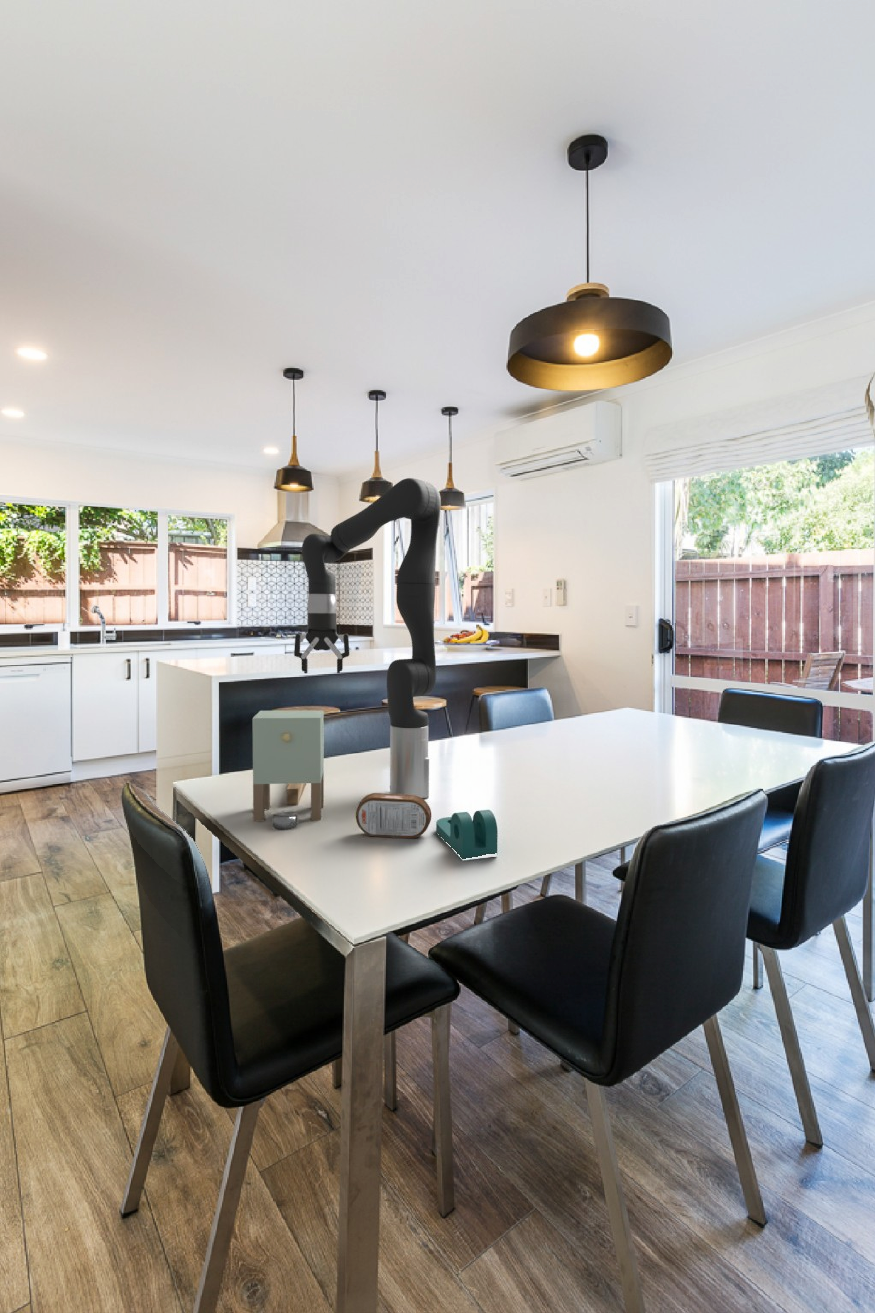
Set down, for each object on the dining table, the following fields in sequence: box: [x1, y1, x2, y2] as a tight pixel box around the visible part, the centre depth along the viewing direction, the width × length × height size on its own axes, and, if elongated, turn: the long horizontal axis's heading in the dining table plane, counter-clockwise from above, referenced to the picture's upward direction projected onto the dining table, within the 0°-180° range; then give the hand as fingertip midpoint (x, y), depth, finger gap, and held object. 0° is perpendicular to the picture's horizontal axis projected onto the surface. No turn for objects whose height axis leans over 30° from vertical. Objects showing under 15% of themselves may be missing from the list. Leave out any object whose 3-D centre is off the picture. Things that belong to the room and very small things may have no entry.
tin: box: [355, 792, 432, 839], centre depth 127 cm, size 15×3×8 cm, turn 84°
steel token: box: [272, 811, 298, 831], centre depth 132 cm, size 5×5×2 cm
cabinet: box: [252, 709, 325, 822], centre depth 139 cm, size 14×11×22 cm
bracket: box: [435, 809, 498, 859], centre depth 124 cm, size 18×7×8 cm, turn 18°
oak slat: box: [286, 783, 307, 806], centre depth 158 cm, size 2×24×4 cm, turn 5°
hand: (322, 673), depth 169 cm, fingers open, 8 cm apart
